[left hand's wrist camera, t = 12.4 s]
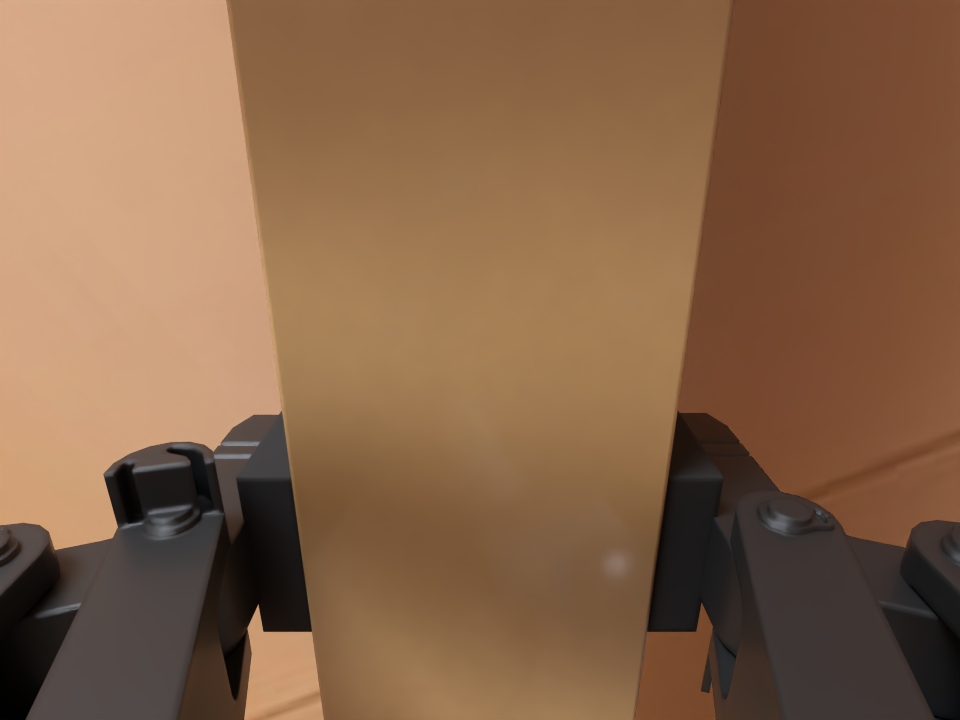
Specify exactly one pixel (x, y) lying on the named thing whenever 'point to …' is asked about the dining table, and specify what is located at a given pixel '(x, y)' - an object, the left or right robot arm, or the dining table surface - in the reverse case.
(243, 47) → the post
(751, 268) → the dining table surface
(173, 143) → the dining table surface
